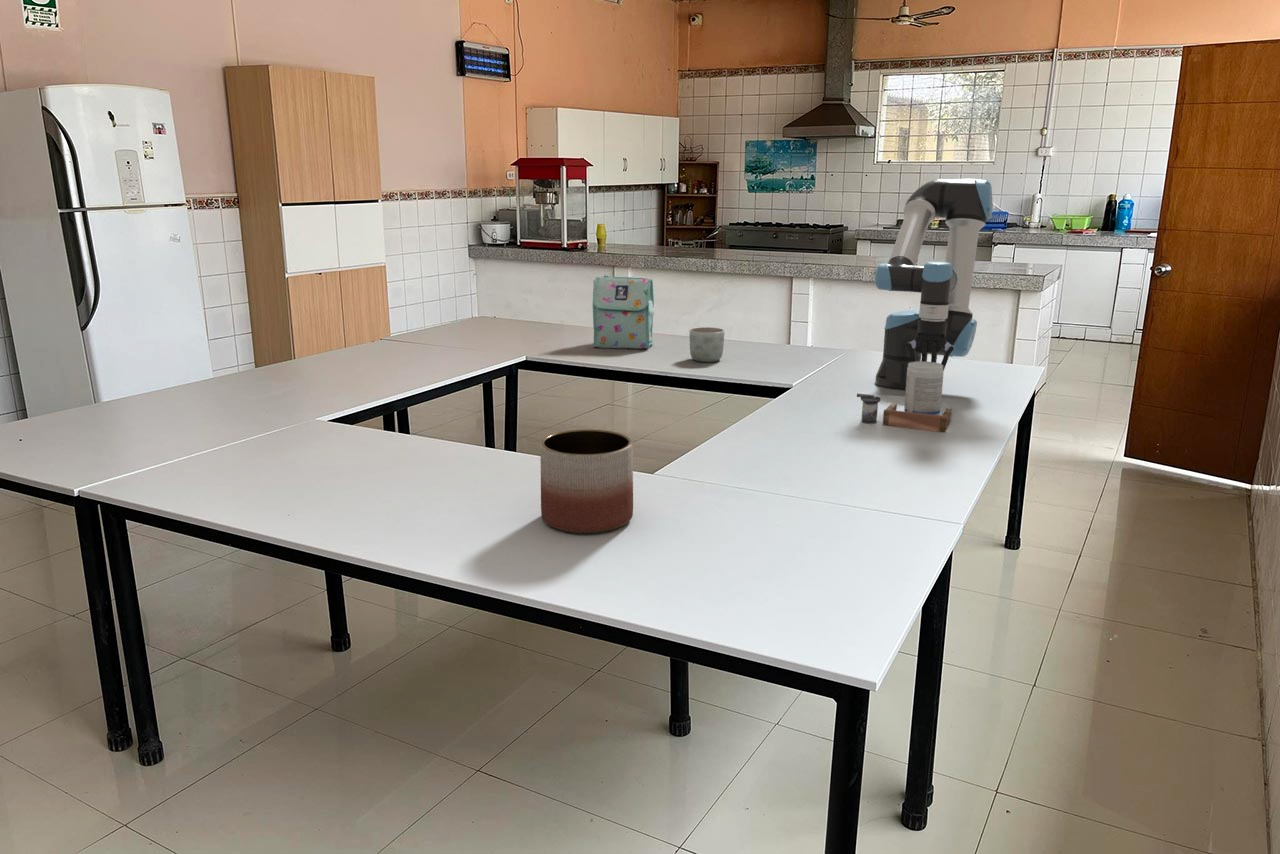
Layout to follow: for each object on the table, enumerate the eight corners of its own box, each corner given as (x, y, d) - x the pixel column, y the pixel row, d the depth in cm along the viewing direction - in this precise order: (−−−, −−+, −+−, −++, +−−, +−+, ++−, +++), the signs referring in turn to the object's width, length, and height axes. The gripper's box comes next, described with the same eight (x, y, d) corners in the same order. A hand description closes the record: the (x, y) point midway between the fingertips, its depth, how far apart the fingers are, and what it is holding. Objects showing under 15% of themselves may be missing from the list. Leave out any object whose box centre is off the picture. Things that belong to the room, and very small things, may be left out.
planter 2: (700, 355, 335) (701, 325, 332) (730, 359, 328) (731, 329, 325) (682, 360, 325) (682, 330, 322) (711, 365, 318) (712, 334, 316)
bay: (890, 414, 255) (891, 400, 254) (950, 421, 248) (951, 407, 247) (882, 425, 244) (883, 410, 243) (945, 432, 238) (946, 417, 237)
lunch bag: (589, 349, 346) (589, 277, 338) (598, 341, 361) (598, 272, 354) (649, 351, 342) (650, 279, 335) (656, 343, 358) (656, 274, 350)
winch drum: (857, 417, 251) (859, 391, 249) (880, 420, 249) (882, 394, 247) (853, 422, 247) (855, 395, 245) (876, 425, 244) (879, 398, 242)
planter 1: (558, 542, 166) (556, 460, 162) (529, 510, 182) (527, 434, 177) (647, 528, 173) (648, 448, 169) (612, 498, 189) (612, 425, 184)
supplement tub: (946, 417, 252) (952, 365, 248) (924, 422, 247) (929, 369, 243) (918, 410, 260) (923, 359, 256) (896, 415, 254) (900, 363, 251)
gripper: (906, 319, 251) (899, 402, 257) (956, 322, 246) (947, 407, 252) (910, 315, 258) (903, 397, 264) (959, 319, 252) (950, 402, 259)
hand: (925, 402), depth 258 cm, fingers closed
